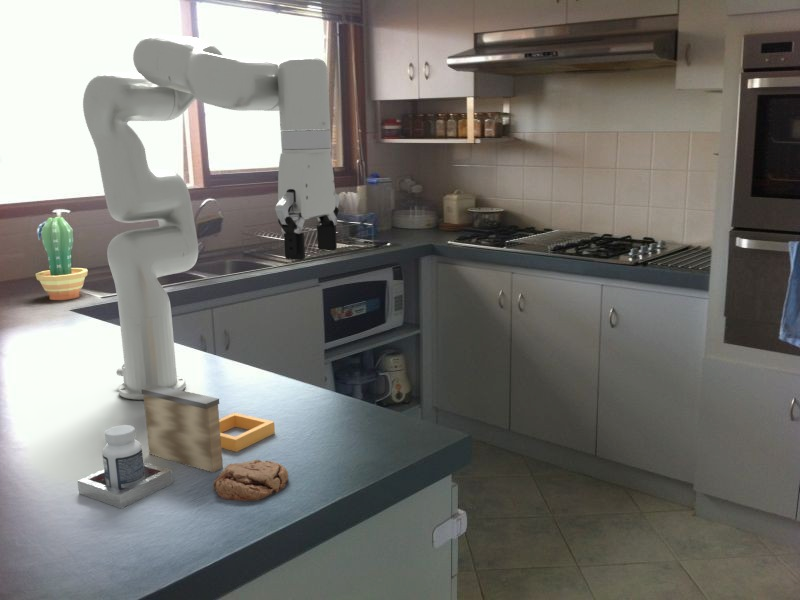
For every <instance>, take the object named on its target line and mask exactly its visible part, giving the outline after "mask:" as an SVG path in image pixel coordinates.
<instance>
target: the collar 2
mask: <svg viewBox="0 0 800 600" xmlns="http://www.w3.org/2000/svg"><path fill="white" fill-rule="evenodd" d="M219 424H220V437H221V449H225V450H229V451H233V452H239V451H241V450H243V449H245V448H247V447H249V446H251V445H253V444H255V443H257V442H259V441H262V440H263V439H266V438H268V437H269V436H272V435H275V434H276V431H275V430H276V429H275V421H273V420H269V419H264V418H260V417H255V416H251V415H246V414H243V413H238V412H233V413H230V414H227V415H226V416H223V417H221V418H219ZM235 427H236V428H239V429H240V428H241V429H245V430H246V431H244V432H242V433H240V434H238V435H236V436H234V435H231V434H227V433H224V432H226V431H229V430H231V429H234V428H235Z"/></svg>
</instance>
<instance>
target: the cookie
mask: <svg viewBox="0 0 800 600" xmlns="http://www.w3.org/2000/svg"><path fill="white" fill-rule="evenodd" d="M288 481H289V472H288V470H287V468H286V467H284V466H283V465H282V464H280V463H278V462H275V461H271V460H265V461H262V460H261V459H254V460H250V461H245V462H236V463H230V464H228V465H226V466H225V468H224V469H223V471H221V472H220V474H219V475H218V476H217V478H215V480H214V481H213V484H212V487H213V490H214V491H216V493H217V496H219V497H220V498H221V497H222V498H221V499H224V500H230V501H237V502H238V501H241V502H245V501H246V502H247V501H248V502H253V501H254V502H255V501H261V500H263V499H266V498H267V497H268V496H270V495H272V494H274V493H279V491H281V490H283V489H285V487H286V484H287V482H288Z"/></svg>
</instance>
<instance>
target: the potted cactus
mask: <svg viewBox="0 0 800 600" xmlns="http://www.w3.org/2000/svg"><path fill="white" fill-rule="evenodd" d="M73 232H74V230H73V228H72V227H71V225H70V224H69V223H68V221H66V220H65V218H64V217H63V216H61V217H59V216H55V217H48V218H47V220H45V221H43V222H42V223H40V224H39V225H38V227H37V229H36V234H37V239H38V241H41V240H42V245H43V247H44V248H43V249H45V252H46V253H47V261H48V266H49V267H48V268H49V270H42V271H39V272H37V273H36V272H35V278H36V281H39V282H40V285H41V286H42V289H43V290H44V292H46V294H47V295H49V300H51V301H52V300H53V301H65V300H71V299H76V298H79V297H80V291H81V290H82V288H83V286H84V283H85V278H86V277H87V276H88V269H87V268H82V267H72V249H73V245H74V233H73Z"/></svg>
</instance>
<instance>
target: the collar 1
mask: <svg viewBox="0 0 800 600" xmlns="http://www.w3.org/2000/svg"><path fill="white" fill-rule="evenodd" d="M143 464H144V473H145V479H144V480H142V481H140V482H137V483H135V484H133V485H131V486H129V487H127V488H125V489H123V490H119V489H116V488H113V487H110V486H107V485H106V480H105V472H104V468H103V469H100V470H99V471H96V472H94V473H91V474H90V475H87V476H85V477H82V478H80V479H78V480H77V486H78V494H79V495H81V496H85V497H87V498H90V499H93V500H96V501H99V502H101V503H104V504H107V505H110V506H113V507H115V508H118V509H123V508H125V507H127V506H130V505H131V504H133V503H135V502H137V501H139V500H141V499H143V498H146V497H148V496H149V495H151V494H154V493H155V492H157V491H160V490H162V489H164V488H165V487H166V488H167V487H168V486H170V485H172V484H173V483H174V481H173V473H172V472H173V471H172V469H169V468H167V467H166V468H165V467H163V466H159V465H155V464H152V463H148V462H145V461H143Z"/></svg>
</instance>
